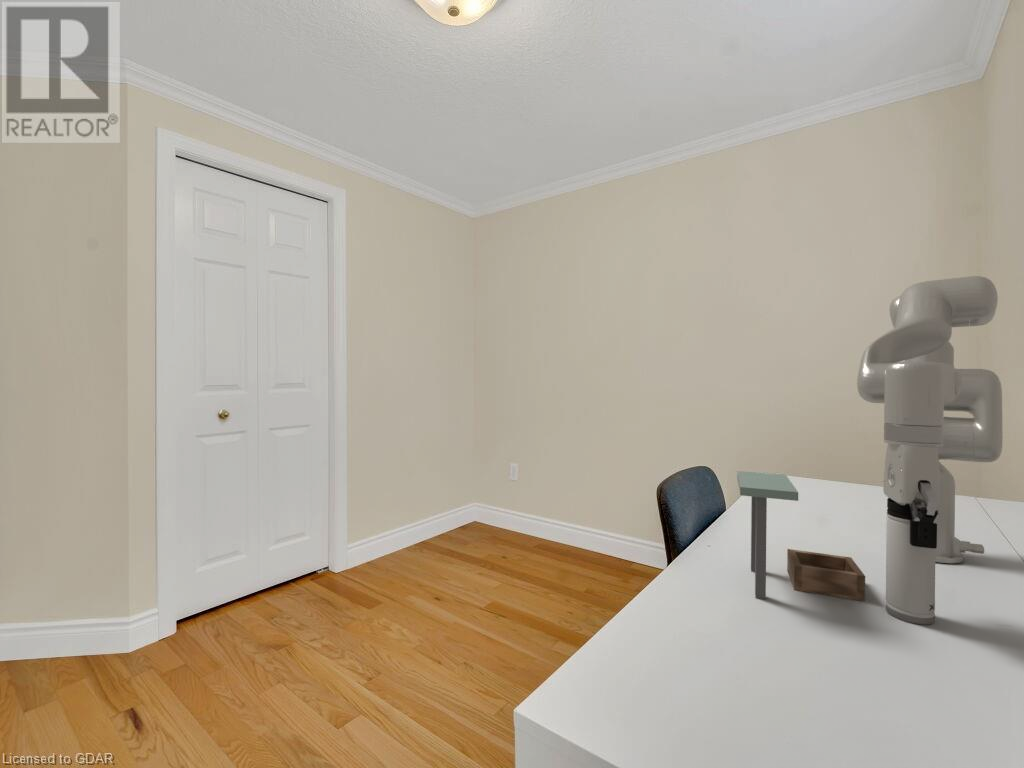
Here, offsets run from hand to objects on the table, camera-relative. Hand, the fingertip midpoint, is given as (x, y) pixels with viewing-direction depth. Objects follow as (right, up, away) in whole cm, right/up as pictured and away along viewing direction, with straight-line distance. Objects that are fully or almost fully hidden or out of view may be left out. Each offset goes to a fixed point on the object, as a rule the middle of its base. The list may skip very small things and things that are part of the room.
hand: (911, 537), depth 78 cm
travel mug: (0, -13, 0) cm, 13 cm away
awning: (-19, -13, +13) cm, 26 cm away
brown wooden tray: (-7, -13, +12) cm, 19 cm away
